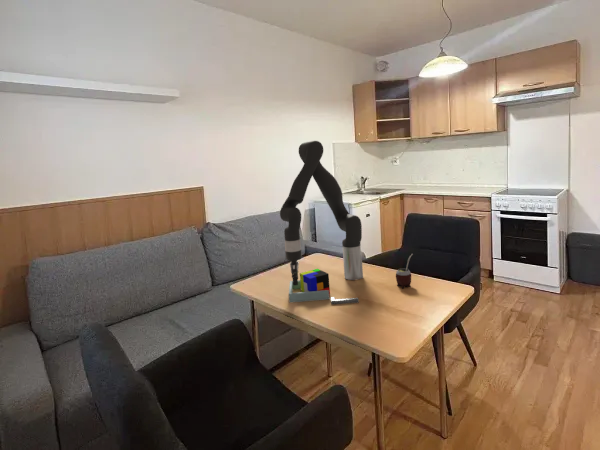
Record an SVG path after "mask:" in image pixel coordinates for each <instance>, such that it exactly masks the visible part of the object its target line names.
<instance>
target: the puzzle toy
mask: <svg viewBox="0 0 600 450" xmlns="http://www.w3.org/2000/svg"><path fill="white" fill-rule="evenodd" d="M299 279H300V283H301V289H300V290H301V292H310V291H322V290H329V295H330V294H331V289H330V276H329V273H328V272H325V271H324V270H321V269H319V268H314V269H312V270H307V271H304V272H300V273H299Z"/></svg>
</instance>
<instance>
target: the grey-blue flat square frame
mask: <svg viewBox="0 0 600 450" xmlns="http://www.w3.org/2000/svg"><path fill="white" fill-rule="evenodd" d="M294 290H301V283H300V280H298V285H293V280H289V288H288V299H289V302H288V303H298V302H299V303H301V302H312V301H323V300H330V294H329V290H322V291H310V292H300V291H299V292H298V291H297V292H294Z"/></svg>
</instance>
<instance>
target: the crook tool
mask: <svg viewBox="0 0 600 450" xmlns="http://www.w3.org/2000/svg"><path fill="white" fill-rule="evenodd" d="M359 300H360V299H359V297H351V298H336V299H335V296H331V297H330V303H331V305H341V304H342V305H345V304H359V302H360V301H359Z"/></svg>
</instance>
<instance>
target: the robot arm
mask: <svg viewBox="0 0 600 450" xmlns="http://www.w3.org/2000/svg"><path fill="white" fill-rule="evenodd" d="M298 155H299V157H300V160H301V161H302V162H303V165H302V168H301V170H300V171H299V173H298V174H297V176H296V177H295V178H294V180H293V183H292V185H291V188H290V191H289V193H288V196H287V198H286V200H285V201H284V202H283V204H282V206H281V208H280V212H279V218H280V219H281V220H282V221H284V222H288V225H287V226H286V227H284V231H283V233H284V234H283V235H284V252H285V260H286V261H290V262H289V267H290V273H291V278H292V281H293V285H298V279H299V267H300V266H299V265H300V263H299V261H300V260H301V259H302V258H303V256H302V255H303V254H302V253H303V252H302V244H301V237H300V234H301V233H300V229H301V224H302V223H301V222H302V213H301V210H300V209H299V208H298V207H297V206H298V205H300V204H302V203H303V201H304V199H305V196H306V193H307V190H308V186H309V184H310V181H311V180H312V178H313V180H314V181H315V184H316V185H317V186H318V188H319V190H320V193H321V195H322V196H323V198H324V199H325V201H326V203H327V205H328V206H329V208H330V210H331V213H332V214H333V216H334V218H335V221H336V223H337V225H338V228H339V230H341V231H342V232H344V233H345V238H344V239H342V243H341V244H342V258H343V259H342V262H343V276H344V279H346V280H349V281H357V280H360V279H364V271H363V270H364V269H363V260H362V248H361V247H362V246H361V241H362V237H363V235H362V233H363V232H362V231H363V230H362V229H363V228H362V221H361V219H360V217H359V216H357V215H355V214H350V213H349V211H348V210H347V207H346V205H345V204H344V201H343V199H344V198H343V191H342V188H341V187H340V185H339V182H338V180H337V179H336V177H334V176H333V175H332V173H331V172H329V171H328V170H327V169H326V168H325V167H324V166H323V164H322V162H321V159H322V157H323V155H324V146H323V144H322V143H321V142H320V141H319V140H310V141H306V142H303V143H301V144H300V145H299V147H298Z"/></svg>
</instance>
